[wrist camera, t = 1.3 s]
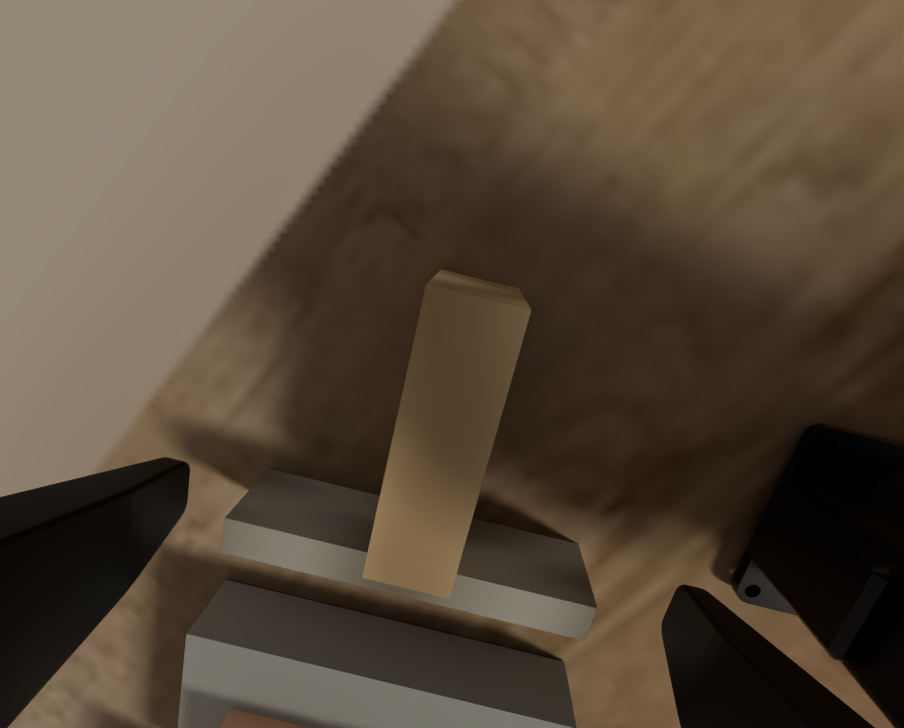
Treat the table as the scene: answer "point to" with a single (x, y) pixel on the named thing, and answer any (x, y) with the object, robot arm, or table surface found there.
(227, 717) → the tile terracotta
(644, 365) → the table surface
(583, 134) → the table surface
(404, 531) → the scraper
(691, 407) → the table surface
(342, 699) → the grey stepped riser
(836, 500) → the robot arm
